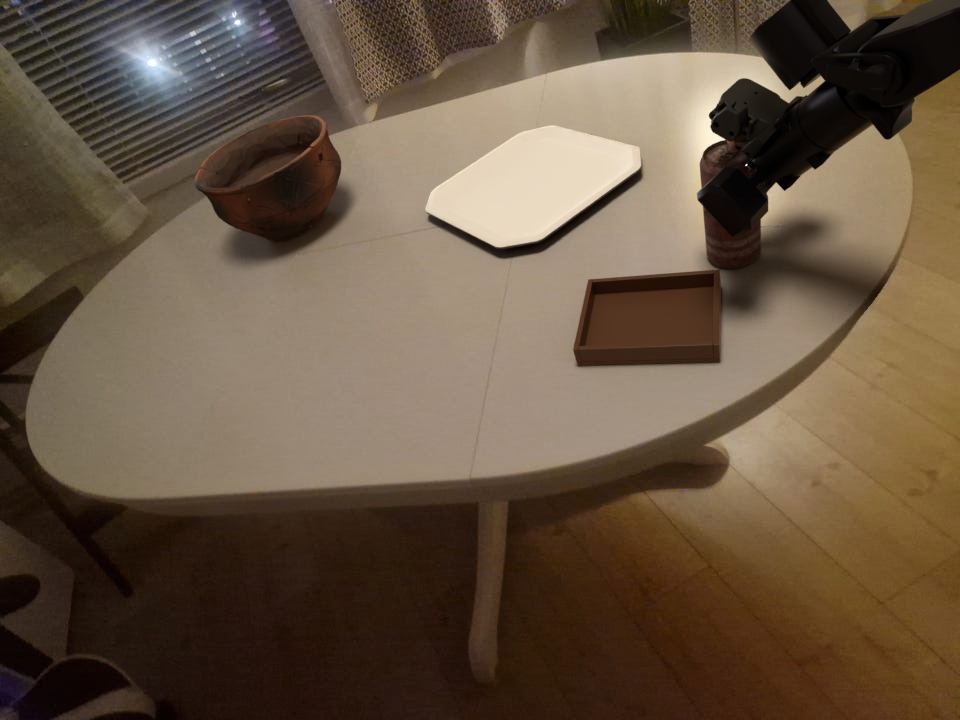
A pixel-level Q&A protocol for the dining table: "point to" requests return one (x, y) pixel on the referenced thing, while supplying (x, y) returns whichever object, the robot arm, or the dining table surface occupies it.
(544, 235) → the plate
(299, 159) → the bowl
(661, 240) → the dining table surface
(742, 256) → the can
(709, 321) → the tray
